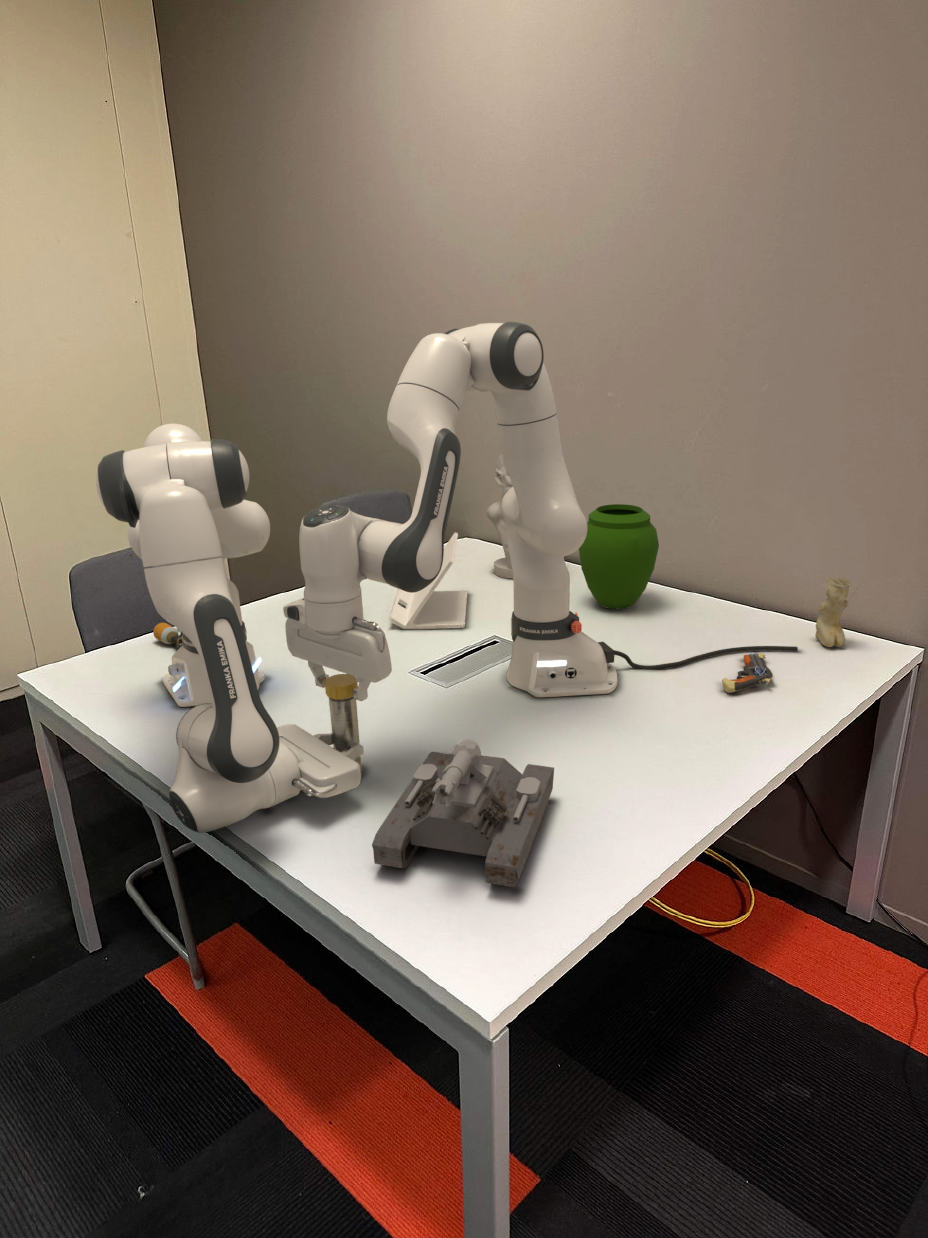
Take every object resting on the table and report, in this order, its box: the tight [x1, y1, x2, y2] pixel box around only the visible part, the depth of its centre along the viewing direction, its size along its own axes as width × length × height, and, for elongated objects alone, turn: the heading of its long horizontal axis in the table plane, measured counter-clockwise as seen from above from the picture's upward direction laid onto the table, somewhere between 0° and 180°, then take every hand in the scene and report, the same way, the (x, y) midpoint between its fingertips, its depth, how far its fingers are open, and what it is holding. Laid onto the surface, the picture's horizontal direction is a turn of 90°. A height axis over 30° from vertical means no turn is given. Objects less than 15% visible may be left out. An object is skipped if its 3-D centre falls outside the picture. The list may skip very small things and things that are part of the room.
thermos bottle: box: [328, 697, 363, 774], centre depth 139 cm, size 4×4×16 cm
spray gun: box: [152, 622, 183, 647], centre depth 201 cm, size 4×17×15 cm
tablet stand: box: [388, 531, 468, 630], centre depth 211 cm, size 18×25×17 cm
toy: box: [371, 739, 555, 888], centre depth 122 cm, size 25×20×15 cm
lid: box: [324, 673, 359, 699], centre depth 137 cm, size 5×5×2 cm
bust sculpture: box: [485, 453, 513, 579], centre depth 231 cm, size 16×24×35 cm
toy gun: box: [721, 652, 775, 694], centre depth 172 cm, size 3×19×10 cm
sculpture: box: [814, 576, 852, 648], centre depth 185 cm, size 6×7×15 cm
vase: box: [578, 503, 660, 610], centre depth 210 cm, size 20×20×24 cm
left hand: (350, 742), depth 141 cm, fingers closed on thermos bottle, 4 cm apart
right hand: (341, 692), depth 137 cm, fingers open, 7 cm apart
